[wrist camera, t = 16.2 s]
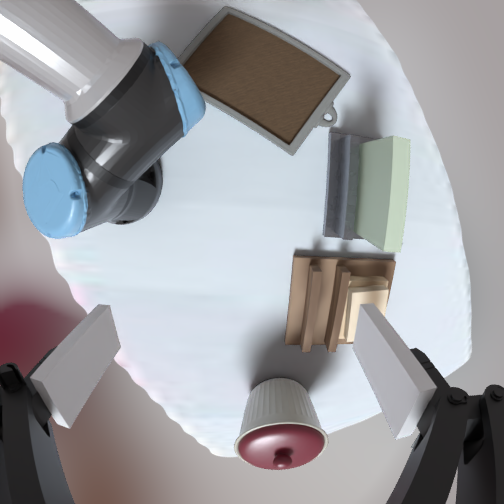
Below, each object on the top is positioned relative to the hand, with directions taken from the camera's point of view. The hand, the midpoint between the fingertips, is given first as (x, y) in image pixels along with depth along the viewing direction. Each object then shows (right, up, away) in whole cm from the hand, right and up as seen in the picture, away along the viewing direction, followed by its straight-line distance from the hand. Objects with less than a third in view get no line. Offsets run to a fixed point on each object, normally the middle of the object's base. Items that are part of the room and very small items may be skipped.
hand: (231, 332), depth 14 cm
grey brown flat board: (+3, +35, +28) cm, 45 cm away
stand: (+19, +15, +33) cm, 41 cm away
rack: (+18, -6, +38) cm, 43 cm away
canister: (+7, -29, +45) cm, 54 cm away
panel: (+19, +15, +31) cm, 39 cm away
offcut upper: (+22, -7, +35) cm, 41 cm away
